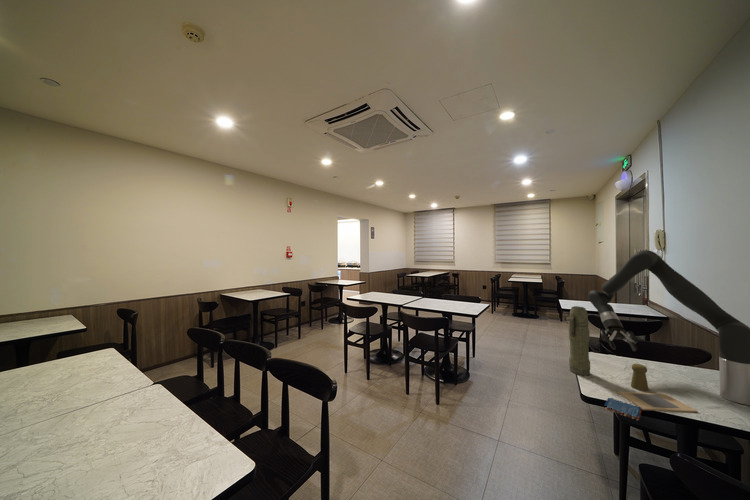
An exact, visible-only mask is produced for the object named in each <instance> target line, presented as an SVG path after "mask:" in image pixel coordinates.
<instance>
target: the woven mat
mask: <svg viewBox="0 0 750 500" xmlns="http://www.w3.org/2000/svg"><path fill="white" fill-rule="evenodd" d="M604 406H607V407H604ZM611 408H612V409H611ZM603 409H604V410H606V411H608V410H609V411H610V412H613V413H616V414H620V416H624V417H628V418H631V419H632V420H634V419H635V420H636V421H639V420H640V419H641V416H642V415H641V414H642V412H643V410H642V409H641V407H638V406H636V405H635V404H632V403H628V402H624V401H621V400H619V399H614V398H613V397H607V399H606V401H605V403H604V405H603Z"/></svg>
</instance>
